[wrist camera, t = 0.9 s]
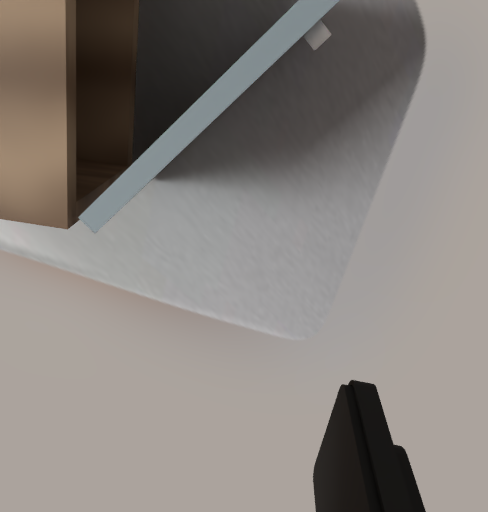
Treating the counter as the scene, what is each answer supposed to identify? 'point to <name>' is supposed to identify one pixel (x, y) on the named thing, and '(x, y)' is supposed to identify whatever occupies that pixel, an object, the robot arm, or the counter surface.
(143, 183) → the door
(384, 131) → the counter surface
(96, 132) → the cabinet
